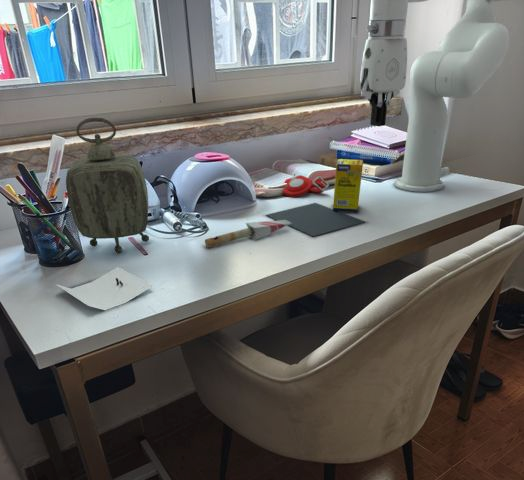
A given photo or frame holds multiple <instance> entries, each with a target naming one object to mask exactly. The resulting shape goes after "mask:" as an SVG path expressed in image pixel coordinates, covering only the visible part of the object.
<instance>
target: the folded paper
mask: <svg viewBox="0 0 524 480" xmlns="http://www.w3.org/2000/svg"><path fill="white" fill-rule="evenodd" d="M55 285H56V286H57V287H59V288H60V289H62V290H63V291H65V292H66V293H68V294H69V295H71V296H73V297H74V298H75V299H77V300H78V301H80V302H81V303H83V304H85V305H86V306H87V307H90V308H94V309H98V310H102V311H107V310H111V309H113V308H115V307H118V306H121V305H123V304H125V303H128V302H130V301H132V299H135V298H136V297H138V296H140V294H142V293H144V292H146V291H147V290H149V289H150V288H153V287H154V285H153V284H151V283H150V282H148V281H146V280H144V279H142V278H140V277H138V276H137V275H134V274H133V273H131V272H128V271H127V270H124V269H122V268H121V267H119V266H117V267H115V268H113V269H112V270H110V271H108V272H107V273H104V274H103V275H102V276H100V277H98V278H96V279H94V280H92V281H91V282H87V283H85V284H82V285H78V286H75V287H73V288H70V287H67V286H63V285H60V284H56V283H55Z"/></svg>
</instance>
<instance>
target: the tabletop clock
mask: <svg viewBox="0 0 524 480" xmlns="http://www.w3.org/2000/svg"><path fill="white" fill-rule="evenodd" d="M97 122H98V123H104V124H107V125H108V126H110V127H111V128H112V130H113V132H112V133H111V135H109V136H107V137H101V135H100V134H98V133H95V134H94V138H89V137H85V136H84V135H81V133H80V129H81V127H82V126H84V125H85V124H88V123H97ZM116 133H117V129H116V126H115V124H114V123H113V122H111V121H110V120H108V119H106V118H104V117H89V118H84V119H83V120H81V121H79V123H78V124H77V126H76V135H77V136H78V137H79V138H80V139H81V140H82V141H84V142H87V143H89V144H90V143H91V144H92V145H91V146H90V148H89V149H88V150H87V151H88V152H87V156H85V157H84V156H83V157H81V158H78V159H76V160H75V161H73V162H72V163H71V164H70V167H69V168H68V169H67V172H66V175H65V176H66V177H65V190H66V196H67V202H68V206H69V210H70V213H71V216H72V219H73V222H74V224H75V226H76V228H77V230H78V231H79V233H80V234H81V235H82V237H85V238H88V239H90V240H89V246H91V247H92V248H95V247H97V246H98V242H99V241H98V239H99V240H101V239H114V241H115V242H114V243H115V246H114V252H115V253H116V254H121V253H122V252H123V247H122V245H120V239H119V238H127V237H132V236H137V235H139V236H140V237H141V238H140V239H141V241H142V242H143V243H147V242H149V240H150V237H149V235H148V234H145V233H144V232H145V231H147V227H148V222H149V221H148V219H149V195H148V185H147V182H146V178H145V172H144V169H143V168H142V165H141V163H140V161H139V160H138V158H137V157H135V156H133V155H128V154H116V153H115V151H114V150H113V148H112V147H111V146H110V145H109V144H105V143H106V142H110V141H111V140H113V139H114V138H115V136H116Z"/></svg>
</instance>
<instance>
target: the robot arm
mask: <svg viewBox="0 0 524 480" xmlns="http://www.w3.org/2000/svg"><path fill="white" fill-rule="evenodd" d="M427 1H428V0H370V9H369V23H368V25H367V26H366V32H367V33H368V34H367V35H368V37H367V39H366V40H365V44H364V49H363V54H362V59H361V67H360V74H359V75H360V77H359V88H360V90H361V93H360V94H361V95H360V96H361V98H362V99H365V100H368V102H369V106H370V107H371V112H370V126H374V127H385V126H386V120H387V109H388V107H389V106H390V104H391V101H392V99H393V98H394V97H396V96H399V94H400V93H401V92H400V91H401V90H403V89H404V88H405V87H406V81H407V80H406V79H407V71H408V42H407V38H406V37H405V33H406V25H407V16H408V7H409V4H410V3H423V2H427ZM503 1H505V2H506V0H466V6H465V12H464V14H463V15H462V16H461V18H459V20H457V22H456V23H455V24H454V25H453V26H452V28H451V29H449V31H448V32H447V33H446V34H445V36H444V37H443V38H442V40H441V42H440V43H439V46H438V50H437V51H436V50H435V51H433V50H432V51H428V52H427V51H426V52H424V53H422V54H420V55H418V57H416V58H415V59H414V61H413V62H412V65H411V67H410V70H409V91H410V92H409V93H410V95H409V96H410V97H409V98H410V99H409V114H408V122H407V131H406V139H405V147H404V154H403V163H402V170H401V171H402V173H401V177H398V178H397V179H395V181H394V186H395V187H397V188H398V189H399V190H403V191H409V192H421V193H422V192H424V193H425V192H427V193H428V192H435V191H439V190H441V189H443V187H444V181H443V180H441V177H442V176H446V175H448V174H449V173H450V168H449V167H448V166H445V167H441V162H442V157H443V150H444V144H445V137H446V131H447V125H448V121H449V120H448V119H449V118H448V117H449V113H448V111H449V110H448V107H447V104H446V100H445V98H451V99H452V98H453V99H467V98H471V97H472V96H474V95H475V94H477V93H478V92H479V91H480V90H481V88H482V87H483V86H484V85H485V84H486V82H487V81H488V80H489V79H490V78H491V77H492V75H494V74H495V72H496V71H497V70H498V68H499V67H500V66H501V64H502V63H503V62H504V60H505V57H506V55H507V53H508V50H509V46H510V33H509V30H508V28H507V27H506V25H504V24H502V23H499V22H497V16H496V13H495V10H494V8H493V6H492V2H503Z"/></svg>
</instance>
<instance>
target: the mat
mask: <svg viewBox="0 0 524 480" xmlns="http://www.w3.org/2000/svg"><path fill="white" fill-rule="evenodd" d="M265 216H266V217H268V218H270V219H272V220H273V221H277V220H287V221H289V222H291V223H292V224H290V225H288V226H287V227H290V228H292V229H294V230H295V231H299V232H300V233H303V234H305V235H307V236H309V237H311V238H315V237H318V236H322V235H325V234H330V233H333V232H336V231H340V230H344V229H348V228H351V227H355V226H357V225H362V224H366V221H364V220H362V219H360V218H357V217H354V216H351V215H349V214H346V213H345V212H342V211H333V208H330V207H327V206H325V205H322V204H319V203H316V202H313V203H310V204H305V205H301V206H296V207H294V208H293V207H292V208H289V209H285V210H281V211H277V212H272V213H268V214H266V215H265Z"/></svg>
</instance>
